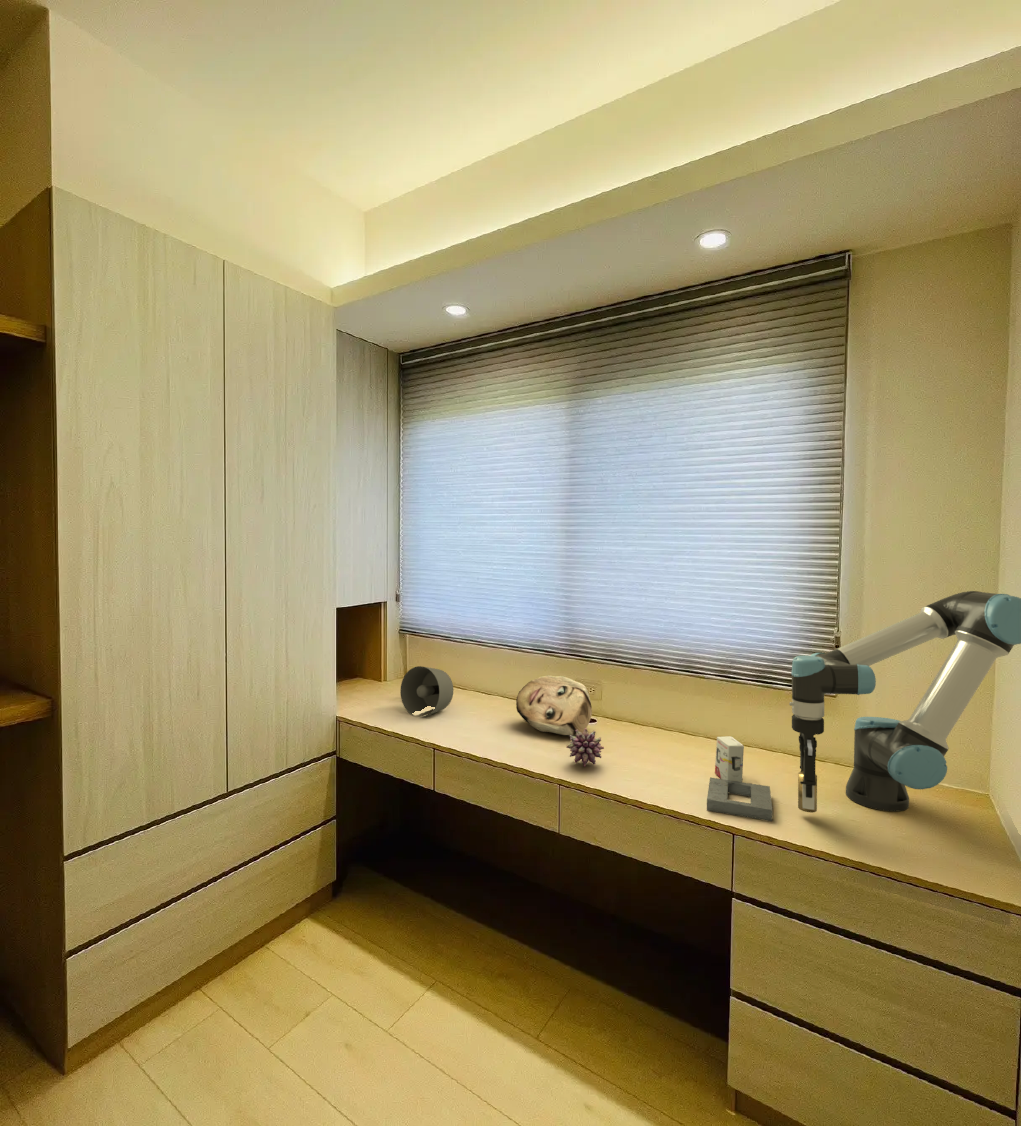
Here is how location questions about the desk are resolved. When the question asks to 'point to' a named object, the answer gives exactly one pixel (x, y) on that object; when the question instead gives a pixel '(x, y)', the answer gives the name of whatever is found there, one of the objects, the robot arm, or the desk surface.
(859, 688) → the robot arm
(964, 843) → the desk surface
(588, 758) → the purple spiky ball
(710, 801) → the frame
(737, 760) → the ink box
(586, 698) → the head sculpture
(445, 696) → the light fixture
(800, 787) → the cylinder
